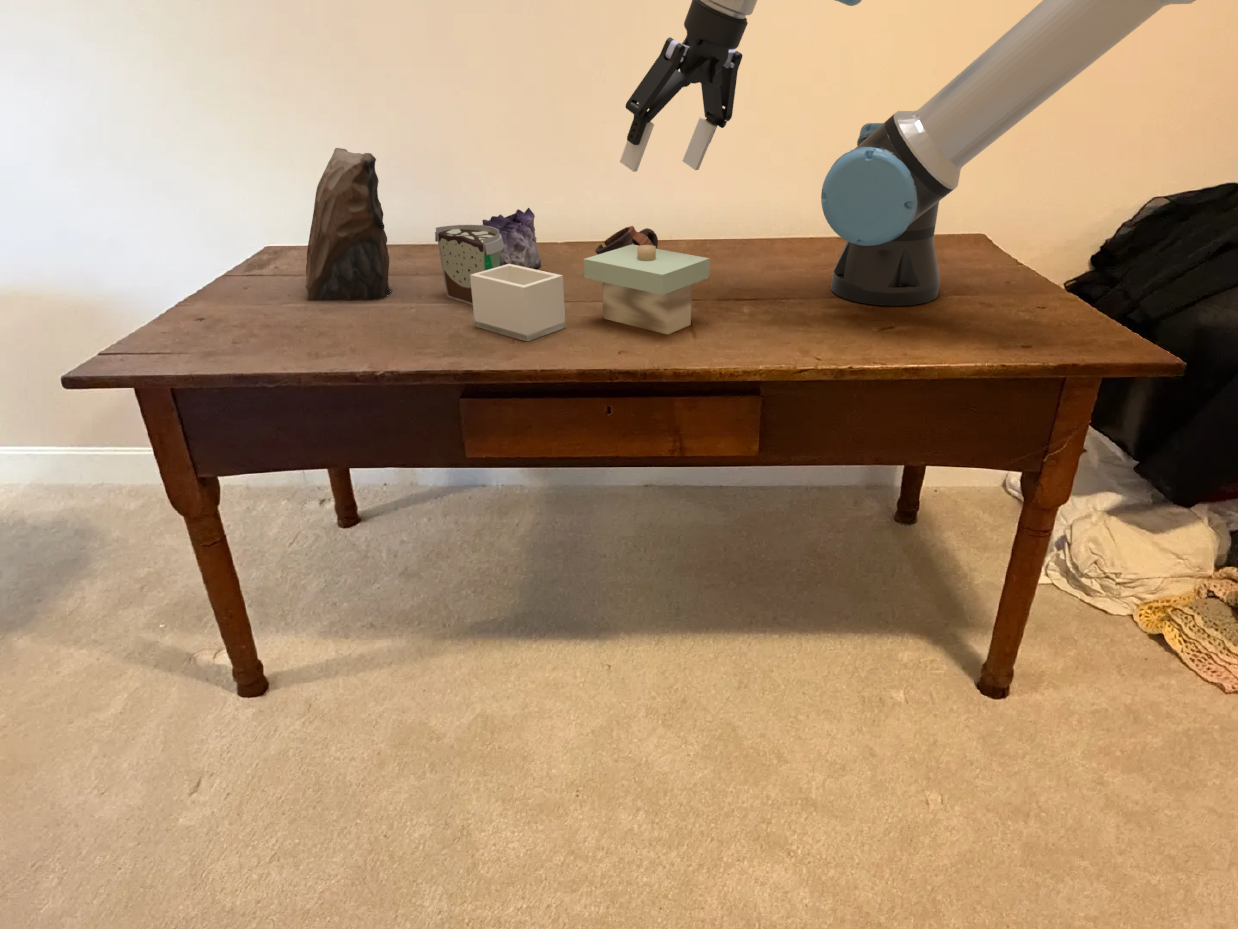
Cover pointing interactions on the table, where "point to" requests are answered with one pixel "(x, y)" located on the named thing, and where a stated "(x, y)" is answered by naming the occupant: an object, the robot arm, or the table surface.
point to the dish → (518, 301)
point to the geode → (517, 238)
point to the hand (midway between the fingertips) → (660, 166)
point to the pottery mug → (628, 239)
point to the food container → (466, 256)
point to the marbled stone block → (648, 308)
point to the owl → (347, 233)
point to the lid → (647, 268)
